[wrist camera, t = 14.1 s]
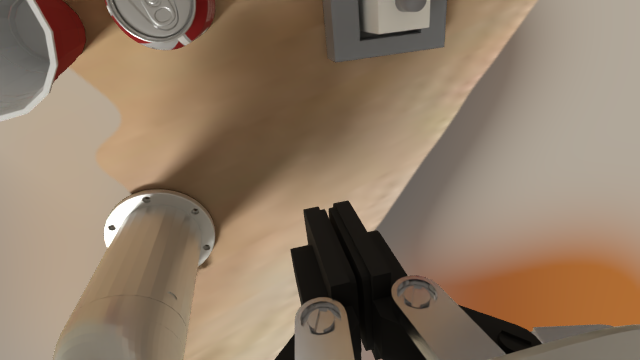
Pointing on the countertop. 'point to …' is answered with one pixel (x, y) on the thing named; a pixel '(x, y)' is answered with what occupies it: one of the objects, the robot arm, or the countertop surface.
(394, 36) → the socket plate
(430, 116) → the countertop surface
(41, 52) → the plastic cup
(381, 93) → the countertop surface
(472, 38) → the countertop surface
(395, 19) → the plug
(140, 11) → the soda can
